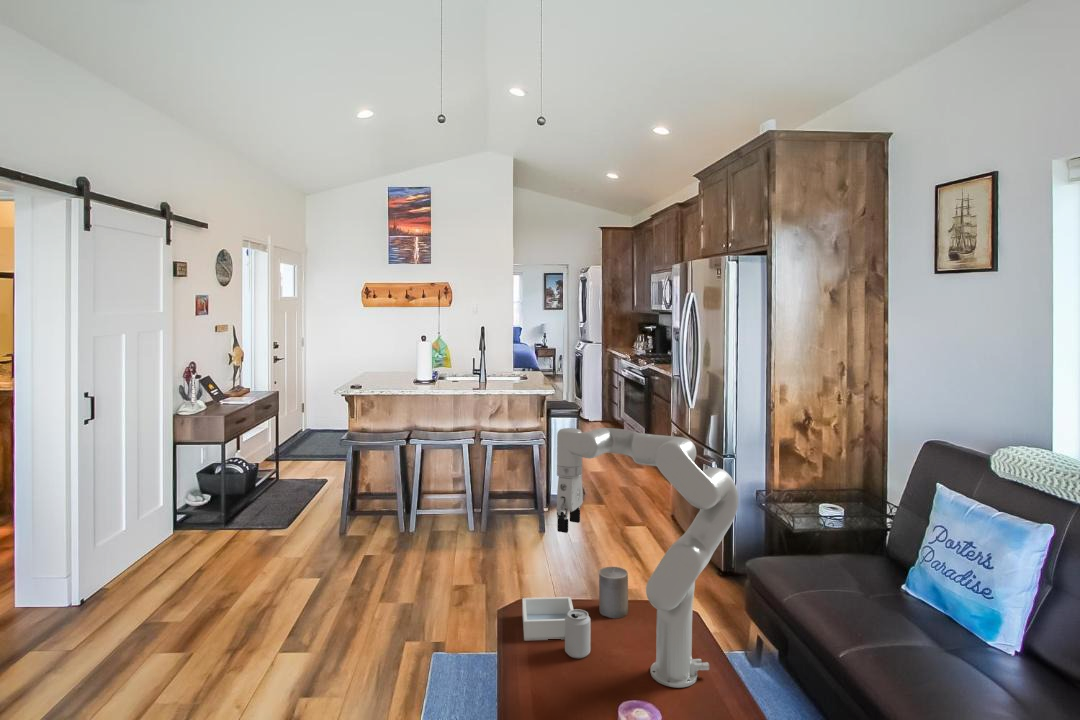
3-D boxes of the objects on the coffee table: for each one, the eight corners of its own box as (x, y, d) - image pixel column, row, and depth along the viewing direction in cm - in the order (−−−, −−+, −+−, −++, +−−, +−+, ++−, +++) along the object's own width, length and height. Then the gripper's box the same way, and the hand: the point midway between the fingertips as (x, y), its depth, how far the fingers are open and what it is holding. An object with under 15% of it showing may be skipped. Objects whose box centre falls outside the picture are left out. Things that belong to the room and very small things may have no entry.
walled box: (570, 614, 205) (570, 596, 205) (576, 639, 190) (576, 620, 189) (522, 615, 205) (522, 598, 204) (524, 640, 189) (524, 621, 188)
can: (561, 648, 184) (561, 609, 183) (584, 644, 186) (584, 605, 186) (570, 661, 177) (570, 621, 176) (594, 657, 179) (594, 617, 178)
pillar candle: (625, 604, 212) (624, 562, 212) (630, 618, 203) (630, 573, 202) (596, 606, 212) (596, 563, 211) (601, 619, 202) (601, 574, 201)
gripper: (570, 478, 174) (570, 538, 175) (591, 465, 190) (590, 520, 191) (546, 475, 177) (545, 534, 178) (568, 463, 193) (567, 516, 194)
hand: (568, 526), depth 184 cm, fingers open, 9 cm apart
